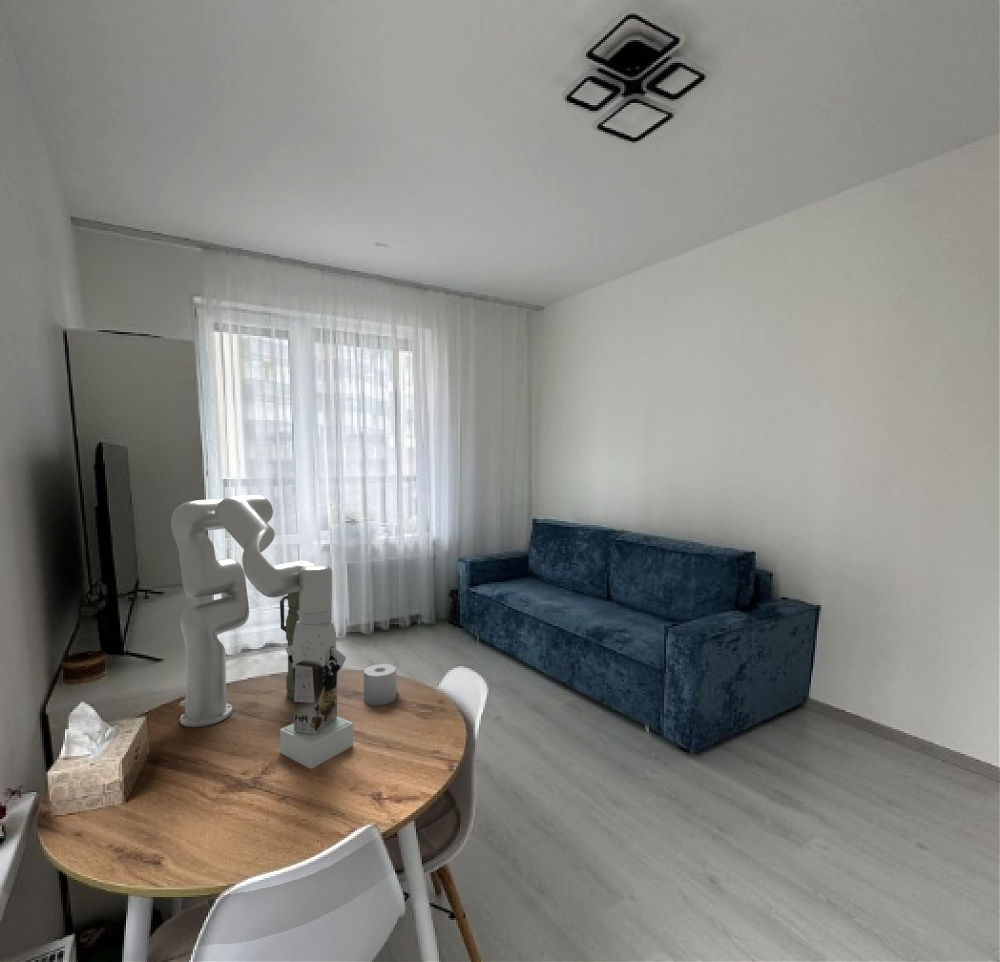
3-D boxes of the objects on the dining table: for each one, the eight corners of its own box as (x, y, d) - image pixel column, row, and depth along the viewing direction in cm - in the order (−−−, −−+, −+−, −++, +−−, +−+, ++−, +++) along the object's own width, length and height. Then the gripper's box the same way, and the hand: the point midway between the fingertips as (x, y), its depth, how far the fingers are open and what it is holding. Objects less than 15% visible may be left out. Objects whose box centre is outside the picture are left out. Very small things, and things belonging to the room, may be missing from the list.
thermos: (281, 691, 158) (280, 578, 157) (321, 685, 162) (320, 575, 162) (280, 703, 150) (279, 584, 149) (322, 696, 154) (322, 580, 153)
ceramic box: (280, 754, 123) (280, 728, 123) (322, 733, 133) (322, 709, 133) (311, 770, 117) (310, 743, 117) (353, 746, 127) (352, 721, 126)
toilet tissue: (399, 685, 162) (398, 658, 162) (393, 705, 149) (393, 675, 148) (370, 686, 161) (369, 659, 161) (361, 706, 148) (361, 676, 148)
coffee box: (316, 735, 120) (317, 667, 119) (292, 731, 121) (293, 664, 121) (338, 717, 129) (339, 654, 128) (315, 714, 130) (316, 651, 130)
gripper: (276, 616, 124) (275, 685, 125) (334, 625, 118) (333, 698, 118) (298, 608, 131) (298, 674, 132) (354, 616, 125) (353, 686, 125)
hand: (314, 685), depth 125 cm, fingers open, 9 cm apart
